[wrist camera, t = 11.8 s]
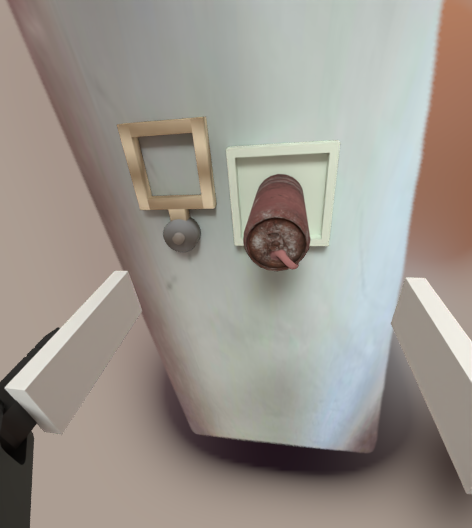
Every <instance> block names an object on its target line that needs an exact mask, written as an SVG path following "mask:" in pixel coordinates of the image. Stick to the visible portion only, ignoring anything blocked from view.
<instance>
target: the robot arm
mask: <svg viewBox="0 0 472 528" xmlns="http://www.w3.org/2000/svg"><path fill="white" fill-rule="evenodd" d="M141 312H142V309H141V306H140V303H139V300H138V297H137V295H136V292H135V289H134V286H133V283H132V281H131V278H130V275H129V272H128V271H114V272H113V273H112V274H111V275H110V276H109V277H108V279H107V280H106V281H105V282H104V283H103V284H102V285H101V286H100V287H99V288H98V289H97V290H96V291H95V292H94V293H93V294H92V295H91V296H90V298H89V299H88V300H87V301H86V302H85V303H84V304H83V305H82V306H81V307H80V308H79V309H78V310H77V311H76V312H75V313H74V314H73V316H72V317H71V318H70V319H69V320H68V321H67V322H66V323H65V324H64V325H63V326H62V327H61V328H56V329H55V330H54V331H52V332H50V333H49V334H48V335H46V336H45V337H44V338H43V339H42V340H41V341H40V342H39V343H38V344H37V345H36V346H35V348H34V349H32V350H31V351H30V352H29V353H28V354H27V357H24V358H23V359H22V360H21V361H20V362H19V363H18V364H17V366H15V368H14V369H12V370H11V372H10V373H9V374H8V375H7V376H6V377H5V378H4V379H3V380H2V381H1V382H0V528H30V510H31V509H30V508H31V488H32V469H33V468H32V467H33V448H34V436H33V433H32V432H31V430H32V429H33V427H34V426H35V425H36V424H38V425H39V427H40V428H41V429H42V430H43V431H44V432H50V433H56V434H63V432H64V431H65V429H66V428H67V426H68V425H69V423H70V421H71V420H72V418H73V417H74V415H75V414H76V412H77V411H78V409H79V408H80V406H81V405H82V403H83V401H84V400H85V398H86V397H87V395H88V394H89V392H90V391H91V389H92V388H93V386H94V384H95V383H96V382H97V380H98V378H99V377H100V375H101V374H102V372H103V371H104V369H105V367H106V366H107V365H108V363H109V362H110V360H111V358H112V357H113V355H114V354H115V352H116V351H117V349H118V348H119V346H120V344H121V343H122V341H123V340H124V338H125V337H126V335H127V334H128V332H129V331H130V329H131V327H132V326H133V324H134V323H135V321H136V320H137V318H138V317H139V315H140V314H141ZM391 325H392V327H393V329H394V332H395V334H396V336H397V338H398V341H399V343H400V345H401V347H402V350H403V352H404V354H405V356H406V359H407V361H408V363H409V365H410V368H411V370H412V372H413V374H414V376H415V379H416V381H417V383H418V386H419V388H420V390H421V392H422V394H423V397H424V399H425V401H426V403H427V406H428V408H429V410H430V413H431V415H432V417H433V419H434V422H435V424H436V426H437V428H438V430H439V433H440V435H441V437H442V439H443V442H444V444H445V446H446V448H447V451H448V453H449V455H450V457H451V460H452V462H453V464H454V466H455V469H456V471H457V473H458V475H459V478H460V480H461V482H462V484H463V487H464V489H465V491H466V493H467V494H472V341H471V340H470V339H469V337H468V336H467V335H466V333H465V332H464V330H463V329H462V328H461V326H460V325H459V324H458V322H457V321H456V320H455V318H454V317H453V315H452V314H451V313H450V311H449V310H448V309H447V307H446V306H445V305H444V303H443V302H442V301H441V299H440V298H439V296H438V295H437V294H436V292H435V291H434V290H433V288H432V287H431V285H430V284H429V283H428V281H427V280H426V279H425V278H405V281H404V284H403V287H402V290H401V293H400V297H399V300H398V303H397V306H396V309H395V312H394V315H393V319H392V322H391Z"/></svg>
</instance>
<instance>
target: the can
mask: <svg viewBox="0 0 472 528" xmlns="http://www.w3.org/2000/svg"><path fill="white" fill-rule="evenodd" d="M310 241H311V239H310V232H309V226H308V220H307V213H306V207H305V201H304V194H303V189H302V187H301V185H300V183H299V182H298V181H297V180H296V179H295V178H293V177H291V176H289V175H286V174H276V175H272V176H270V177H268V178H267V179H265V180H264V181H263V182H262V183H261V185H260V186H259V188H258V191H257V193H256V196H255V199H254V202H253V206H252V209H251V212H250V215H249V218H248V221H247V224H246V227H245V230H244V236H243V244H244V247H245V250H246V252H247V254H248V255H249V257H250V258H251V260H252V261H253V262H254V263H255V264H257V265H258V266H259V267H261V268H264V269H266V270H271V271H282V270H287V269H289V268H290V269H296V268H297V267H298V266H299V262H300V261H301V260H302V259H303V258H304V256H305V255H306V253H307V251H308V250H309V246H310Z"/></svg>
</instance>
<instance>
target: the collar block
mask: <svg viewBox="0 0 472 528" xmlns="http://www.w3.org/2000/svg"><path fill="white" fill-rule="evenodd" d="M117 128H118V131H119V135H120V138H121V142H122V146H123V149H124V153H125V156H126V160H127V164H128V167H129V171H130V175H131V178H132V182H133V185H134V189H135V193H136V196H137V200H138V203H139V207H140V210H164V209H168V211H169V215H170V220H171V221H170V222H169V223H168V224H167V225H166V227H165V228H164V231H163V237H164V240H165V242H166V244H167V245H168V246H169V247H170V248H172V249H173V250H175V251H178V252H188V251H190V250H192V249H193V248H194V246H195V245H196V243H197V241H198V240H199V238H200V235H201V230H200V227H199V225H198V223H197V222H196V221H195V220H194V219H193V218H191V217H190V214H189V209H214V208H215V206H216V205H217V204H216V195H215V187H214V179H213V170H212V162H211V154H210V145H209V137H208V129H207V121H206V117H196V118H184V119H172V120H160V121H148V122H136V123H124V124H118V125H117ZM182 133H192V134H193V141H194V148H195V155H196V161H197V168H198V175H199V182H200V188H201V195H170V196H152V194H151V189H150V185H149V181H148V177H147V173H146V169H145V165H144V161H143V157H142V153H141V149H140V145H139V141H138V137H141V136H155V135H168V134H182Z"/></svg>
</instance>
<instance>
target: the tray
mask: <svg viewBox="0 0 472 528" xmlns="http://www.w3.org/2000/svg"><path fill="white" fill-rule="evenodd" d="M339 149H340V142H339V141H338V140H329V141H312V142H296V143H280V144H264V145H247V146H231V147H228V148H227V149H226V156H227V167H228V178H229V189H230V200H231V211H232V221H233V232H234V243H235V246H244V244H243V236H244V230H245V227H246V224H247V221H248V218H249V215H250V212H251V209H252V206H253V202H254V199H255V196H256V193H257V191H258V188H259V186H260V185H261V183H262V182H263V181H264V180H265V179H267V178H268V177H270V176H272V175H276V174H286V175H289V176H291V177H293V178H295V179H296V180H297V181H298V182H299V183H300V185H301V187H302V189H303V194H304V201H305V207H306V213H307V220H308V226H309V232H310V239H311V241H310V246H329V237H330V228H331V219H332V211H333V202H334V193H335V184H336V175H337V167H338V158H339Z"/></svg>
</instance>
